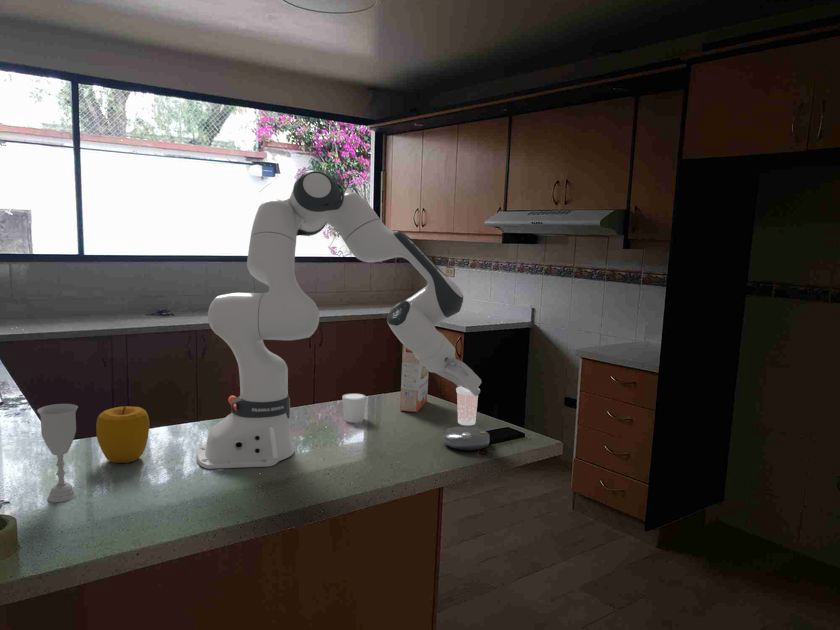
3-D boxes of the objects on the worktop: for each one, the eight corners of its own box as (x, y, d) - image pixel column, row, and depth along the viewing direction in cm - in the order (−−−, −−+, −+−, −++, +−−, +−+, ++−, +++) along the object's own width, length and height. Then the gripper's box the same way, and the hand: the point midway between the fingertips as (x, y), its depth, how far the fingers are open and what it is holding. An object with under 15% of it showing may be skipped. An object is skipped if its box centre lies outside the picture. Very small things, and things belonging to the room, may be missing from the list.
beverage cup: (480, 420, 161) (482, 368, 158) (475, 427, 155) (477, 373, 153) (458, 417, 162) (460, 366, 160) (452, 424, 157) (454, 371, 155)
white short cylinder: (364, 423, 174) (364, 399, 173) (340, 422, 174) (340, 398, 173) (366, 416, 181) (367, 393, 180) (343, 415, 181) (344, 392, 180)
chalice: (87, 497, 122) (83, 409, 119) (49, 507, 116) (44, 416, 114) (73, 486, 126) (70, 401, 124) (36, 495, 121) (31, 408, 119)
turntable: (454, 455, 151) (455, 443, 151) (435, 439, 162) (435, 428, 162) (497, 450, 155) (497, 439, 155) (476, 435, 166) (476, 424, 166)
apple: (98, 473, 133) (96, 416, 132) (96, 456, 143) (94, 403, 141) (153, 464, 139) (152, 409, 137) (147, 449, 148) (145, 398, 146)
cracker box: (418, 413, 185) (420, 345, 182) (399, 411, 187) (401, 344, 184) (428, 401, 199) (430, 338, 196) (410, 399, 200) (412, 336, 197)
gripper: (466, 353, 143) (499, 390, 149) (427, 338, 162) (458, 371, 167) (448, 373, 142) (482, 410, 148) (412, 356, 160) (443, 389, 166)
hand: (469, 389), depth 158 cm, fingers closed on beverage cup, 6 cm apart
